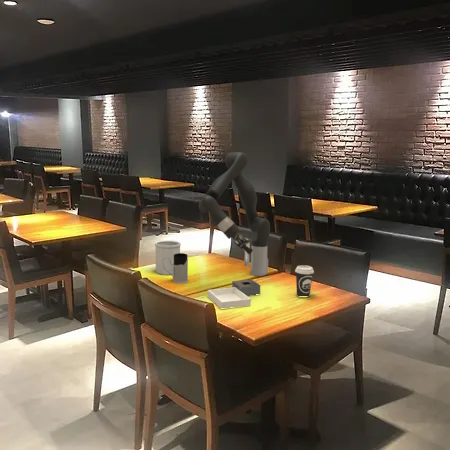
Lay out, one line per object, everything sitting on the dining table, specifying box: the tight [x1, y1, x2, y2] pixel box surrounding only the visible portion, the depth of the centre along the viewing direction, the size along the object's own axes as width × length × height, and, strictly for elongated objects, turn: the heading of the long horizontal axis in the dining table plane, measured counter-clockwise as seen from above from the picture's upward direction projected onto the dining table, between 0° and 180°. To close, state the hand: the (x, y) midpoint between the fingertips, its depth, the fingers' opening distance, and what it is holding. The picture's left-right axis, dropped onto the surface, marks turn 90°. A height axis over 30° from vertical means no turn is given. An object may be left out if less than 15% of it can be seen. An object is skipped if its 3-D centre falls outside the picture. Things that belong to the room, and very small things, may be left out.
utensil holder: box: [154, 239, 182, 276], centre depth 292 cm, size 15×15×18 cm
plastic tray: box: [207, 286, 252, 309], centre depth 246 cm, size 15×19×4 cm
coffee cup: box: [294, 264, 315, 297], centre depth 255 cm, size 10×10×15 cm
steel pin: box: [243, 237, 252, 267], centre depth 255 cm, size 4×4×14 cm
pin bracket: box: [231, 278, 261, 297], centre depth 259 cm, size 11×11×5 cm
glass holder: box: [163, 252, 189, 285], centre depth 274 cm, size 9×14×15 cm, turn 94°
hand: (251, 252), depth 255 cm, fingers closed on steel pin, 2 cm apart
